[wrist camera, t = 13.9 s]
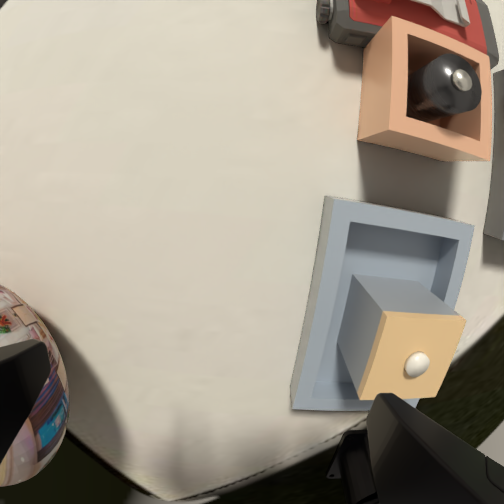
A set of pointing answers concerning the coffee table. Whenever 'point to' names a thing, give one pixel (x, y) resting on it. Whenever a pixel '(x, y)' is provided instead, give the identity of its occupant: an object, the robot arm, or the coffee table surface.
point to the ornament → (48, 403)
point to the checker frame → (497, 166)
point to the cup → (395, 96)
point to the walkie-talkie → (410, 20)
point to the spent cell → (442, 89)
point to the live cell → (397, 337)
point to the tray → (372, 264)
